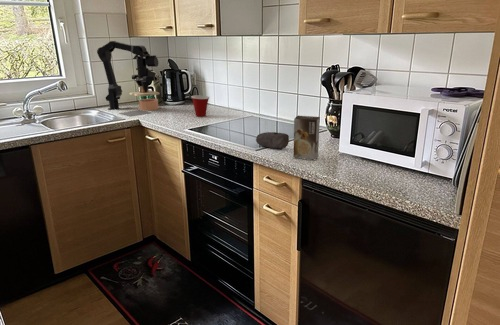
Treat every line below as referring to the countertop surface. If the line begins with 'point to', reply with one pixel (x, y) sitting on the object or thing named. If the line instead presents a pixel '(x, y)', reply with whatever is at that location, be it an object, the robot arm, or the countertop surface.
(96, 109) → the countertop surface
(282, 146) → the perforated stone tool
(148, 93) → the lid
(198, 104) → the plastic cup
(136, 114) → the mat
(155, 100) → the bowl
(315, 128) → the coffee box
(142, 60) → the robot arm
